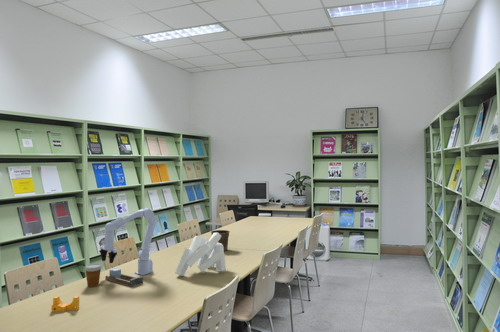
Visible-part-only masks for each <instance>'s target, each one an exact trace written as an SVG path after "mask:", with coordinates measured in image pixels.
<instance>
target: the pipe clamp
mask: <svg viewBox="0 0 500 332" xmlns="http://www.w3.org/2000/svg"><path fill="white" fill-rule="evenodd" d="M79 309H80V296H79V295H75V296H74V297H73V299H72V302H70V303H64V302H63V301H62V300H61V298H60V296H59V295H57V296H54V297H53V299H52V305H51V313H52V312H54V313H55V312H60V313H61V312H63V313H64V312H65V311H77V310H79Z"/></svg>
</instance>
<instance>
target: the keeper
mask: <svg viewBox="0 0 500 332" xmlns="http://www.w3.org/2000/svg"><path fill="white" fill-rule="evenodd" d="M121 274H122V270H121V269H120V268H112V269H109V276H111V277H115V278H119V279H122V278H121Z"/></svg>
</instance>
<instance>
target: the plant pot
mask: <svg viewBox="0 0 500 332" xmlns="http://www.w3.org/2000/svg"><path fill="white" fill-rule="evenodd" d="M216 232H218V233H219V234H220V235H221V238H220V240H219V241H218V243H221V244H222V245H223V248H224V252H226V251H228V246H229V236H230V233H231V232H230V230H228V229H227V230H226V229H222V230H221V229H218V230H212V231H210V233H211V235H212V234H213V233H216Z"/></svg>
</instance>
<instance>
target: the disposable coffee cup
mask: <svg viewBox="0 0 500 332" xmlns="http://www.w3.org/2000/svg"><path fill="white" fill-rule="evenodd" d="M84 270H85V276H86V283H87V284H86V285H87V287H88V288H96V287H98V286H99V285H100V278H101V270H102V265H101V264H99V263H94V264H93V263H92V264H87V265H86V266H85V268H84Z"/></svg>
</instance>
